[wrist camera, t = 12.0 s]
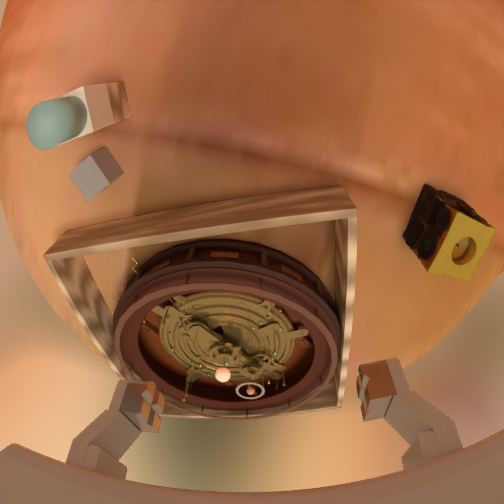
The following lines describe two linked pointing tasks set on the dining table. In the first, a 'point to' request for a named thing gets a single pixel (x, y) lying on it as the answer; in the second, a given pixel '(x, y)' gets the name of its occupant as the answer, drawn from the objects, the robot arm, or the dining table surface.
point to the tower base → (118, 101)
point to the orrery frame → (201, 225)
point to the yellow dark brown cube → (447, 234)
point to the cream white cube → (94, 107)
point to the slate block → (96, 173)
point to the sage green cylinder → (56, 121)
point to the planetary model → (228, 328)
